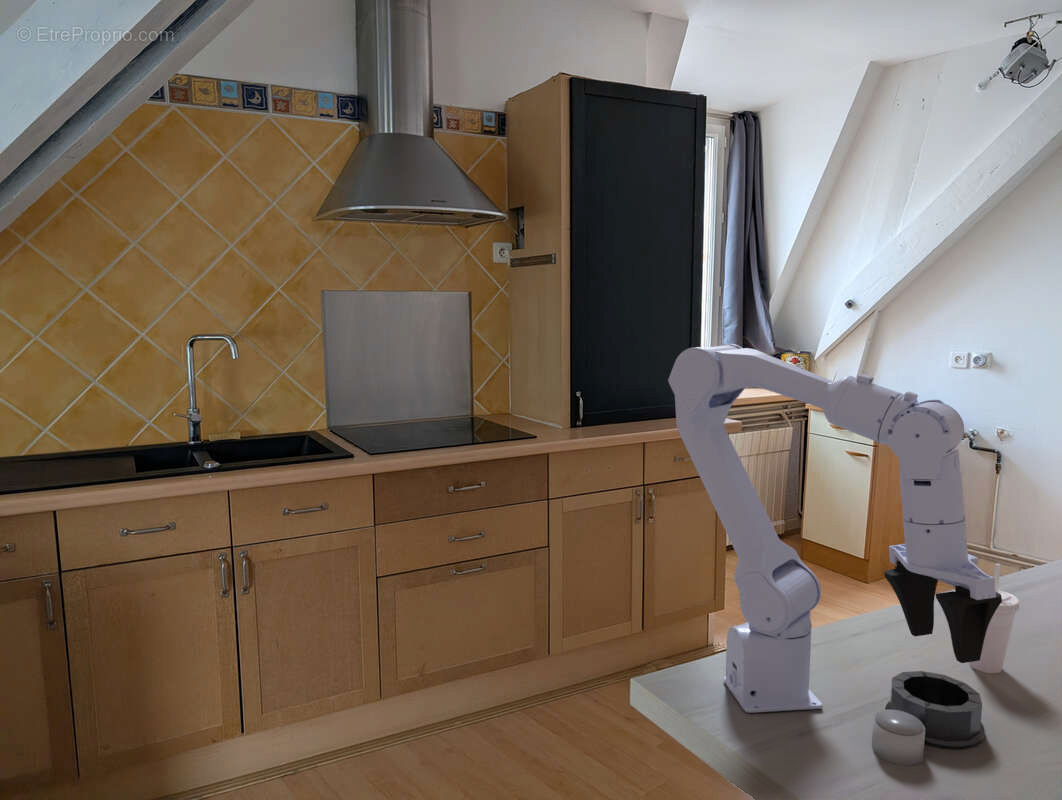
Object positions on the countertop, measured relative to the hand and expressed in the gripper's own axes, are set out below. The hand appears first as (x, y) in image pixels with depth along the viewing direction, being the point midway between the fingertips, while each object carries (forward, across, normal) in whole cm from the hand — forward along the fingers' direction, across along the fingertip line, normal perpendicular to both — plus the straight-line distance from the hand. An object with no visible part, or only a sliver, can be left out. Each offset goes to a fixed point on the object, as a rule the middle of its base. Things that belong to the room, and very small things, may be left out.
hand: (944, 646), depth 79 cm
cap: (+12, +2, +5) cm, 13 cm away
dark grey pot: (+12, +6, -2) cm, 13 cm away
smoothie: (+12, +18, -17) cm, 28 cm away
